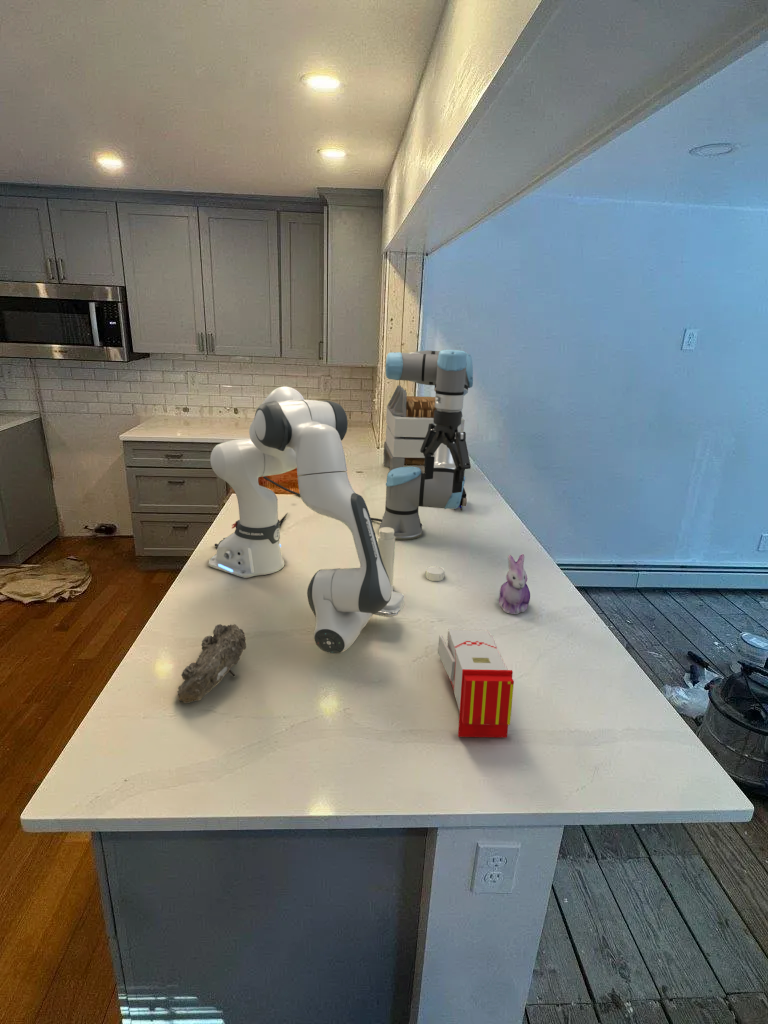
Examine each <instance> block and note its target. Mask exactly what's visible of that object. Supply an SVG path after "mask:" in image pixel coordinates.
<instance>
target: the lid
mask: <svg viewBox="0 0 768 1024" xmlns="http://www.w3.org/2000/svg"><path fill="white" fill-rule="evenodd" d="M424 577H425V578H426V579H427V580H429V581H432V582H440V581H443V580H444V579H445V569H444V568H443V567H441V566H437V565H431V566H427V567H426V568H425V574H424Z"/></svg>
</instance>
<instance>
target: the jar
mask: <svg viewBox="0 0 768 1024" xmlns="http://www.w3.org/2000/svg"><path fill="white" fill-rule="evenodd" d="M379 531H380V532H379ZM378 533H379V534H378V535H377V543H378V547H379V551H380V554H381V558H382V561H383V564H384V567H385V569H386V572H387V574H388V577H389V580H390V584H391V585H392V586H393V587H394V571H395V570H394V569H395V549H396V540H395V536H394V529H393V528H390V527H382V528H380V530H379V529H378Z"/></svg>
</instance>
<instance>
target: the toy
mask: <svg viewBox="0 0 768 1024" xmlns="http://www.w3.org/2000/svg"><path fill="white" fill-rule="evenodd" d="M446 640H447V643H446V641H445V639H444V636H443V635H442V634H439V637H438V646H437V656H438V657H439V659H440V661H441V663H442V666H443V668H444V670H445V672H446V674H447V677H448V679H449V681H450V684H451V687H452V690H453V693H454V697H455V701H456V705H457V708H458V711H459V714H458V715H459V716H458V730H457V731H458V732H457V737H458V738H508V731H509V726H510V725H511V717H512V707H513V697H514V696H513V695H514V684H515V680H514V679H513V673H514V671H513V670H512V669H508V667H507V665H506V662H505V661H504V659H503V658H502V655H501V653H500V651H499V649H498V647H497V643H496V639H495V637H494V635H493V634H491V632H490V631H489V629H467V628H466V629H465V628H463V629H461V628H460V629H459V628H448V630H447V639H446Z"/></svg>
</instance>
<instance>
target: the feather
mask: <svg viewBox="0 0 768 1024" xmlns="http://www.w3.org/2000/svg"><path fill="white" fill-rule="evenodd" d="M287 515H288V513H286V514H285V515H284V516H283V517H282V518H281V519H279V522H280V527H282V524H283V522H284V521H285V519H286V518H287Z"/></svg>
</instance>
